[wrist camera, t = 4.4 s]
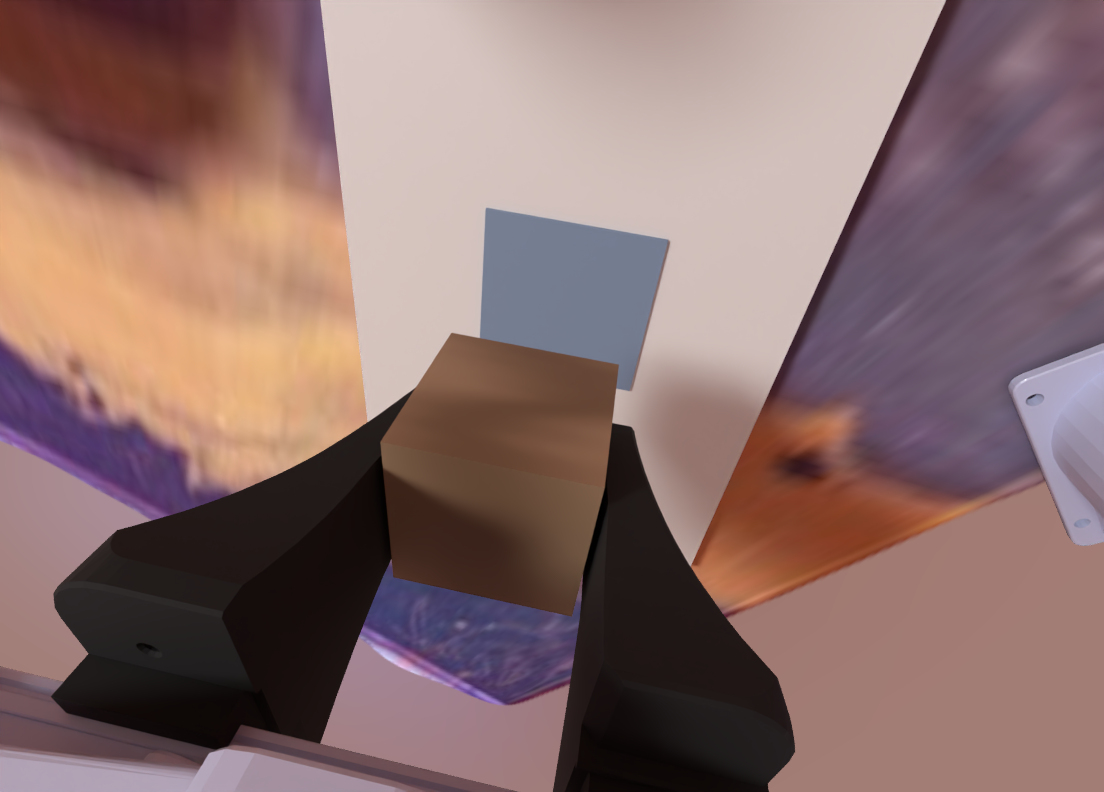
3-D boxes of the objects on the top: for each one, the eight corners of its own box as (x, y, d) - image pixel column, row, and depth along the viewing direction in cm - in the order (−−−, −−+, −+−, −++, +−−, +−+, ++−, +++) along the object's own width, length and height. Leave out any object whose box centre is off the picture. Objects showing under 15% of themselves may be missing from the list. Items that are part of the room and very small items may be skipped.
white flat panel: (1011, -182, 12) (1035, -195, 11) (687, 558, 27) (688, 573, 26) (307, -268, 13) (285, -286, 12) (383, 493, 28) (376, 506, 27)
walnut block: (619, 364, 12) (604, 487, 9) (590, 484, 15) (571, 616, 12) (451, 332, 13) (380, 442, 9) (450, 455, 15) (393, 577, 12)
